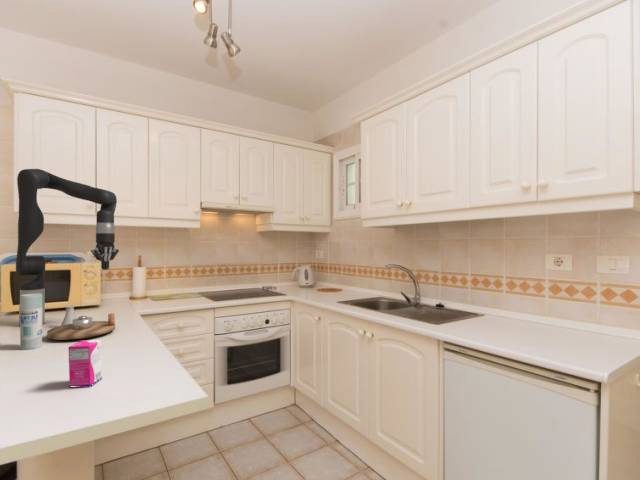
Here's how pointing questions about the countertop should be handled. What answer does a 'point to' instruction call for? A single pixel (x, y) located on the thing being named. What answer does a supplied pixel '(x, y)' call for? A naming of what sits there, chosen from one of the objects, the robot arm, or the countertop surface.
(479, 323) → the countertop surface
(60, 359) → the countertop surface
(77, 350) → the supplement box
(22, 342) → the spray paint can
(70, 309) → the flask
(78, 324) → the cover
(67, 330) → the turntable
